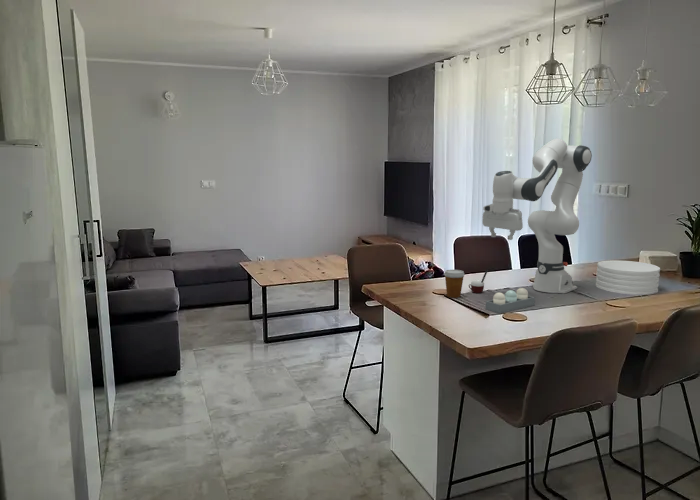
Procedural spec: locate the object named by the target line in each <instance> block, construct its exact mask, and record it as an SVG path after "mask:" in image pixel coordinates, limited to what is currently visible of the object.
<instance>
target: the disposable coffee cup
mask: <svg viewBox="0 0 700 500" xmlns="http://www.w3.org/2000/svg"><path fill="white" fill-rule="evenodd" d="M443 274H444V279H445V291H446V297H448V298H454V299H458V298H460V297H461V294H462V289H463V282H464V277H465V272H464V270H460V269H445V272H444V273H443Z"/></svg>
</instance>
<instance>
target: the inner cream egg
mask: <svg viewBox="0 0 700 500" xmlns="http://www.w3.org/2000/svg"><path fill="white" fill-rule="evenodd" d="M515 292H516V294H517V298H519V299H522V300H523V299H528V296H529V292H528V290H527V289H526V288H525V287H519V288H518V289H517V290H516V291H515Z"/></svg>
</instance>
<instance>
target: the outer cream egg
mask: <svg viewBox="0 0 700 500" xmlns="http://www.w3.org/2000/svg"><path fill="white" fill-rule="evenodd" d="M492 298H493V299H492V300H493V303H496V304H499V305H501V304H505V293H502V292H495V293H494V294H493V297H492Z"/></svg>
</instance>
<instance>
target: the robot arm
mask: <svg viewBox="0 0 700 500" xmlns="http://www.w3.org/2000/svg"><path fill="white" fill-rule="evenodd" d="M592 157H593V155H592V151H591V149H590V147H588V146H587V145H582V144H580V145H576V144H575V145H572V144H568V145H567V143H566V142H565V140H563V139H561V138H553V139H551V140H549V141H548V142H546V143H545V144H544V145H542V146H541V147H540V148H539V149H538V150H537V151H536V152H535V153H534V154H533V156H532V165H533V167H534V169H535V170H536V171H537V172H538V173H539V174H538V175H537V176H534V177H528V178H527V177H518V176H516V175H514V174H513V171H512V170H500V171H497V172H496V173H494V177H493V182H492V193H493V199H492V203H491V204H488V205H484V206H483V209H482V210H483V213H482V226H483V227H487V228H488V229H489V231H490V232H489V233H490V237H491V238H496V237H497V233H496V232H495V229H502V230H509V235H507V241H512V240H513V238H514V236H515V233H516V232H517V231H522V230H523V228H524V225H523V217H522V216H523V213H522V211H521V210H520V209H518V208H514V200H522V201H524V200H525V201H529V202H536V201H538V200H539V199H540V198H542V196H543V194H544V192H545V189H546V188H547V186H548V185H549V183H550V182H551V181H552V179H553V178H554V177H555V175H556V174H557V172H558V169H561V174H560V175H559V177H558V179H557V180H556V183H555V185H554V188H553V190H552V193H551V195H550V200H551V203H552V204H553V205H555V209H554V210H543V209H542V210H534V211H532V212H531V213H530V214H529V216H528V219H527V226H528V227H529V229H531V231H532V232H533V233H534V235H535V238H536V239H537V242H538V260H537V264H536V265H537V266H536V268H537V270H536V271H535V275H534V281H533V283H532V284H531V286H532V287H533V290H535V291H538V292H543V293H549V294H551V293H553V294H558V293H559V294H567V293H569V292H572V291H574V290H577V289H578V286H577V285H575V284H573V277H572V275H571V274H569V272H568V271H566V269H565V267H568V264H569V263H568V262H567V261H563V256H564V255H563V254H564V246H563V245H562V243H560V242H559V241H558V240H557V238H556V235H557V236H571V235H575V234H576V233H577V232H578V230H579V227H580V220H579V218H578V217H577V215H576V214H575V210H574V206H575V201H576V199H577V196H578V194H579V191H580V189H581V185H582V181H583V176H584V174H583V171H585V170H586V169H587V167H589V165H590V163H591V161H592Z"/></svg>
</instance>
